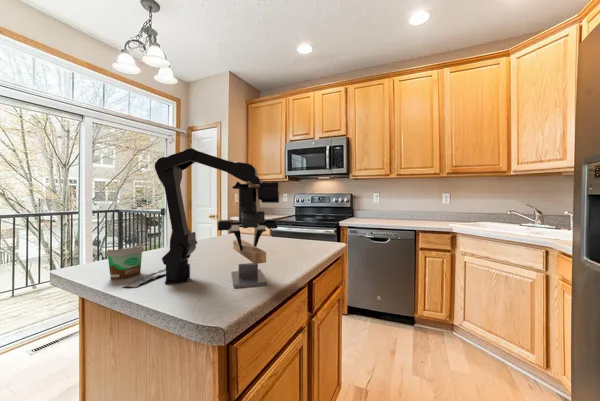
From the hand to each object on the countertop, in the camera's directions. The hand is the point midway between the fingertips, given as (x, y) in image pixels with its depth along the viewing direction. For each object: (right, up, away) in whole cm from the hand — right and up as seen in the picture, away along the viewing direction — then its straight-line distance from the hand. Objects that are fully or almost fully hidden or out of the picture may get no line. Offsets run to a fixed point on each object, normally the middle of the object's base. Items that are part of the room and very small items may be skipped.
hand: (247, 250), depth 85 cm
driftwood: (-32, -10, +2) cm, 34 cm away
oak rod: (0, -1, 0) cm, 1 cm away
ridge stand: (0, -9, 0) cm, 9 cm away
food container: (-41, -10, +4) cm, 42 cm away
